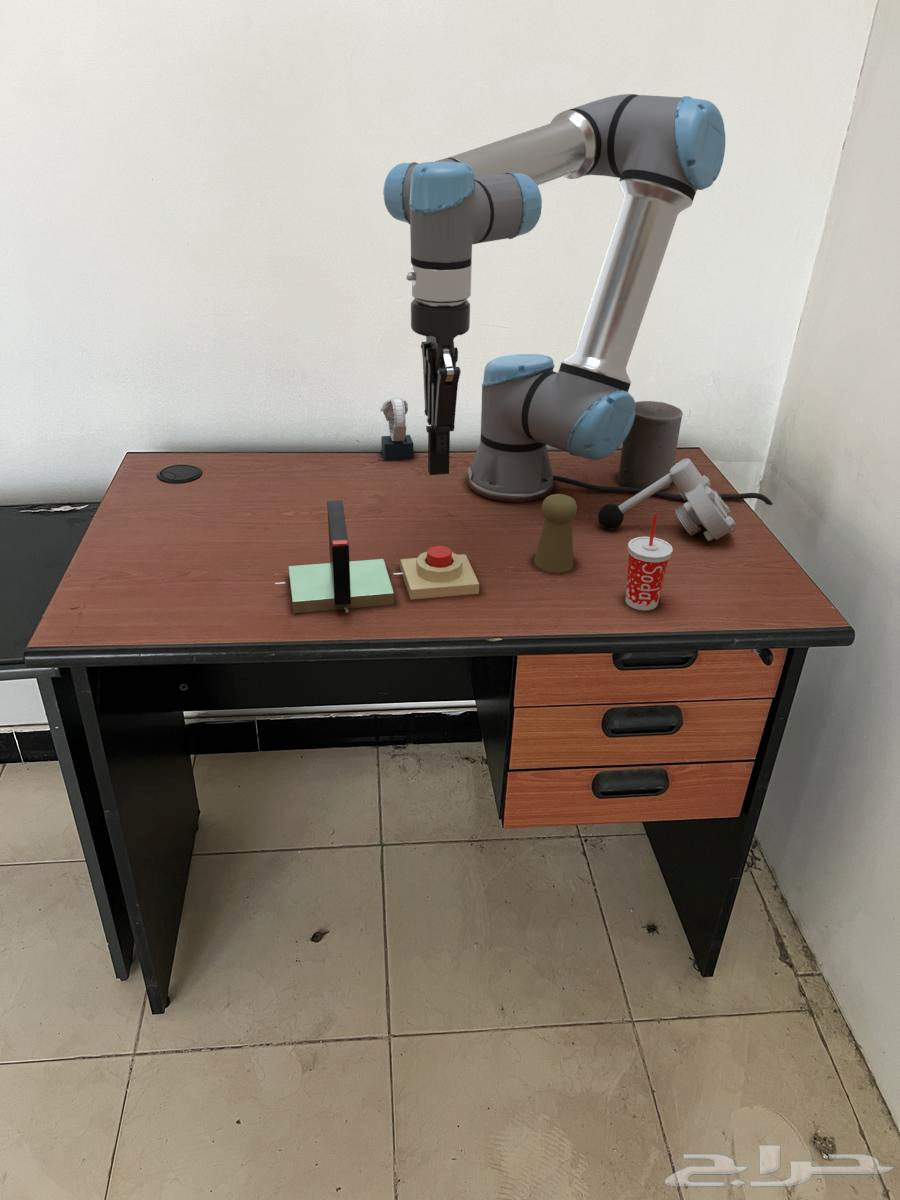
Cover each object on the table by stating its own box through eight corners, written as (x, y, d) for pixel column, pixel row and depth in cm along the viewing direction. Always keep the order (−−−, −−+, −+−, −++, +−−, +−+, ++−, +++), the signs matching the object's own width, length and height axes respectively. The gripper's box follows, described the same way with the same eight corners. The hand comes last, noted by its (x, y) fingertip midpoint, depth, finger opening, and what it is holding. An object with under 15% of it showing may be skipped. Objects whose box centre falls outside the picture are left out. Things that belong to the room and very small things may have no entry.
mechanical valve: (743, 535, 140) (691, 461, 136) (645, 594, 147) (593, 525, 142) (733, 512, 149) (684, 441, 145) (641, 568, 156) (592, 502, 152)
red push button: (448, 555, 132) (449, 544, 131) (453, 567, 129) (454, 556, 128) (424, 557, 131) (424, 546, 130) (429, 569, 128) (429, 558, 127)
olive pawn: (547, 576, 134) (554, 509, 128) (526, 558, 138) (532, 493, 132) (581, 567, 136) (589, 502, 130) (559, 550, 141) (566, 486, 135)
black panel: (329, 555, 133) (327, 499, 128) (344, 554, 133) (342, 498, 128) (334, 605, 121) (331, 544, 116) (351, 604, 122) (348, 544, 117)
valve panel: (393, 556, 138) (393, 543, 136) (413, 619, 123) (414, 606, 121) (273, 565, 134) (272, 552, 133) (279, 631, 119) (278, 618, 118)
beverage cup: (616, 608, 126) (628, 519, 119) (624, 587, 131) (636, 500, 124) (659, 617, 125) (675, 527, 117) (666, 596, 130) (681, 508, 122)
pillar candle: (613, 487, 162) (623, 407, 154) (623, 467, 170) (633, 390, 162) (667, 496, 159) (680, 415, 151) (674, 475, 167) (688, 397, 159)
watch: (408, 446, 176) (408, 391, 170) (414, 462, 169) (415, 406, 163) (379, 447, 175) (378, 393, 169) (385, 463, 168) (384, 407, 162)
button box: (465, 563, 136) (466, 543, 134) (478, 593, 129) (480, 572, 127) (400, 568, 134) (400, 548, 132) (410, 599, 127) (410, 578, 125)
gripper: (402, 288, 117) (403, 456, 130) (421, 313, 106) (421, 494, 119) (457, 286, 119) (454, 452, 131) (482, 311, 108) (475, 489, 120)
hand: (438, 472), depth 125 cm, fingers closed
